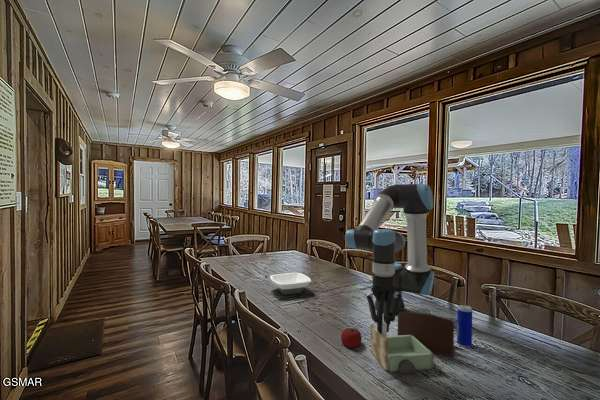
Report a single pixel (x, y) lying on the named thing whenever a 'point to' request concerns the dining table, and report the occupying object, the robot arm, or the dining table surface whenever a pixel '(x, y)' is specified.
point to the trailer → (408, 355)
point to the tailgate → (379, 347)
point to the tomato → (351, 337)
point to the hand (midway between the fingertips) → (382, 341)
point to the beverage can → (464, 325)
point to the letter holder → (428, 331)
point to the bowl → (290, 282)
